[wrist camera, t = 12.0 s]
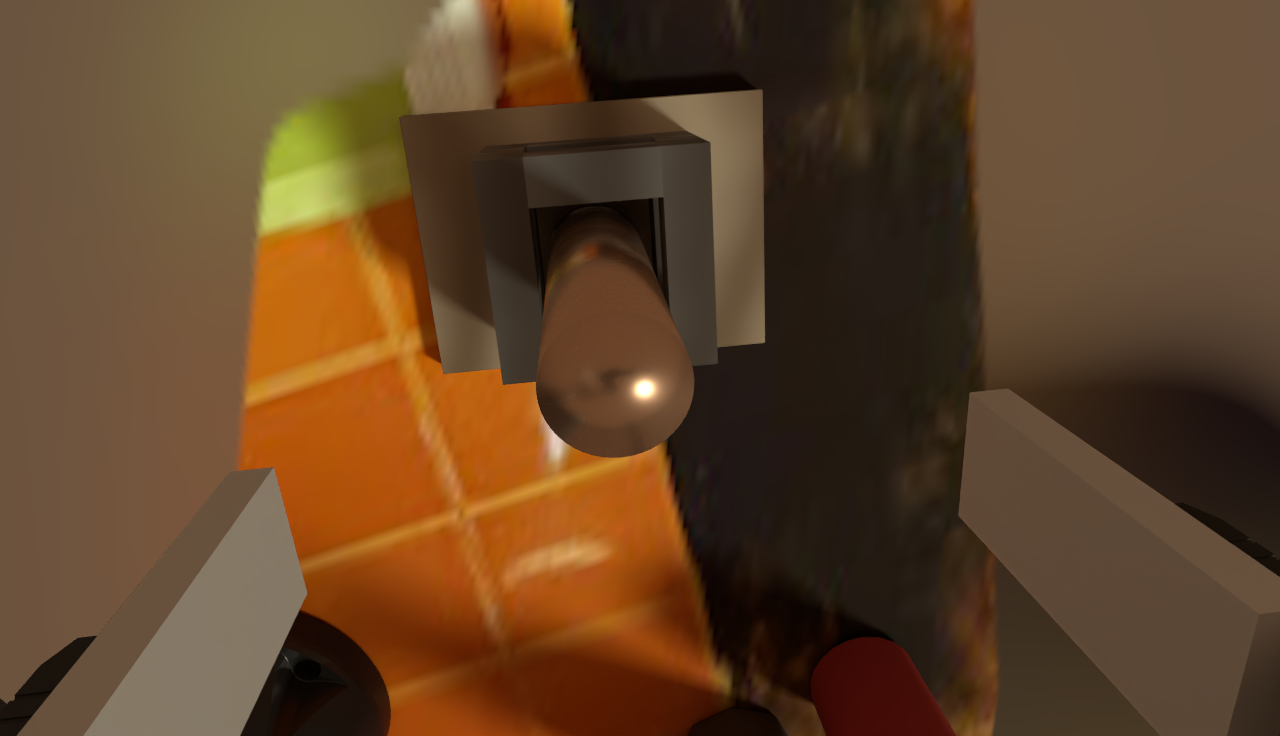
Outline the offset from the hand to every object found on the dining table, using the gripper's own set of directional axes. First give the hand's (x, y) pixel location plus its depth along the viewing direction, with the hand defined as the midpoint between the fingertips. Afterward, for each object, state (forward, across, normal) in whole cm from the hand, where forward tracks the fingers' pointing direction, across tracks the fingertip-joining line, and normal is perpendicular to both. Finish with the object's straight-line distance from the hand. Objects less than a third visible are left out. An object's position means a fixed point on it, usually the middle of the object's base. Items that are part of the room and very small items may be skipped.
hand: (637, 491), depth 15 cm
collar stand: (+24, 0, 0) cm, 24 cm away
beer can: (+24, +14, -29) cm, 40 cm away
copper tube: (+23, 0, 0) cm, 23 cm away
